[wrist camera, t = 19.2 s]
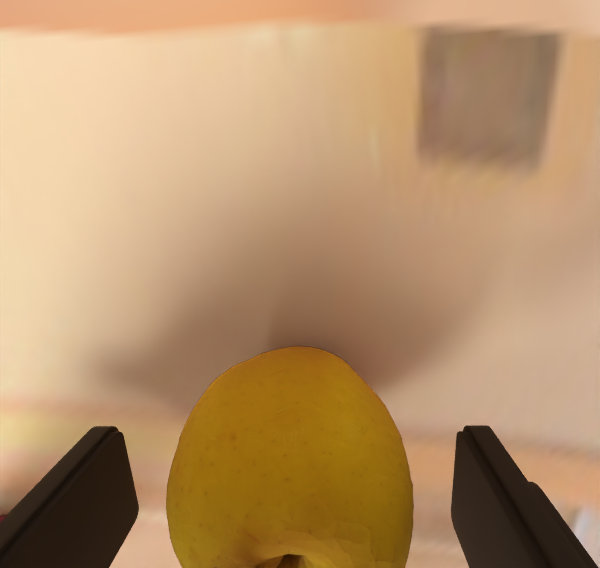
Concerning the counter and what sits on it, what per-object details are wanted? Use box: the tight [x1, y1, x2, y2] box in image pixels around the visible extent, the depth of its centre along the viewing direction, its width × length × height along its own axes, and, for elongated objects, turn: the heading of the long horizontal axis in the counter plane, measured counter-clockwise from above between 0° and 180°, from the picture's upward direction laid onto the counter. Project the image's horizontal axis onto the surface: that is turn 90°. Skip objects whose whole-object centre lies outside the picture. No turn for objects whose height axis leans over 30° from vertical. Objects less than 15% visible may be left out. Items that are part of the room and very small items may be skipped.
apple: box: [166, 346, 414, 568], centre depth 10 cm, size 6×6×8 cm
